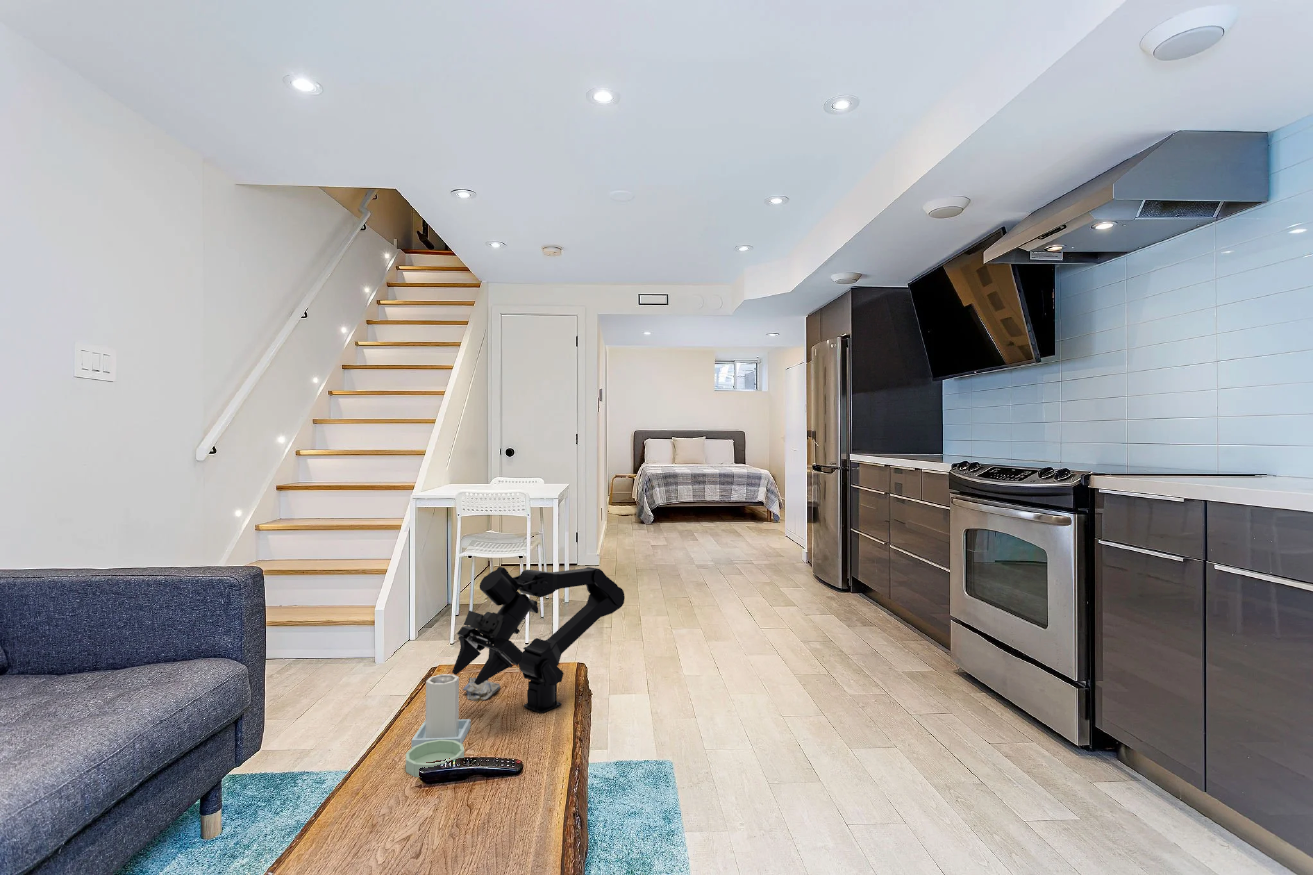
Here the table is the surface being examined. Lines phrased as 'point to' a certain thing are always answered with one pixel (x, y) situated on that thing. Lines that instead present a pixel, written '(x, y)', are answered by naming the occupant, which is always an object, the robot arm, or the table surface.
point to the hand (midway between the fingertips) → (464, 678)
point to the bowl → (432, 754)
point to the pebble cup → (442, 706)
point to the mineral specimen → (480, 690)
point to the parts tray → (462, 732)
